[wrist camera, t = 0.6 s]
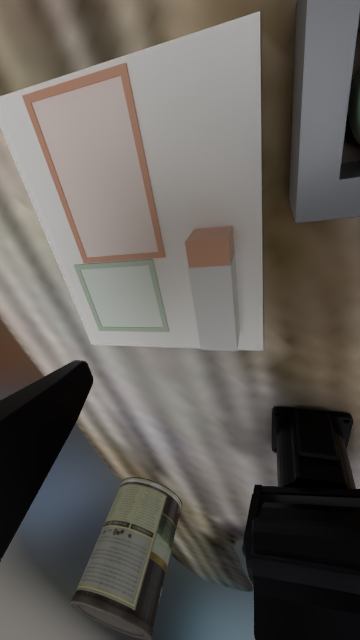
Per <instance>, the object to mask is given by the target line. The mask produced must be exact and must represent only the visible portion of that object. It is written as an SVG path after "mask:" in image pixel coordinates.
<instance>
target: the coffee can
mask: <svg viewBox="0 0 360 640" xmlns="http://www.w3.org/2000/svg"><path fill="white" fill-rule="evenodd" d="M181 508H182V503H181V501H180V499H179V498H178V496H177V495H176V494H175V493H173V492H172V491H171V490H170V489H168V488H166V487H165V486H163V485H161V484H158V483H156V482H153V481H150V480H147V479H143V478H128V479H125V480H123V482H122V483H121V485H120V488H119V491H118V493H117V496H116V498H115V501H114V503H113V505H112V508H111V510H110V512H109V515H108V517H107V520H106V522H105V524H104V527H103V529H102V532H101V534H100V536H99V539H98V541H97V543H96V546H95V548H94V550H93V553H92V555H91V558H90V560H89V563H88V565H87V567H86V570H85V572H84V575H83V577H82V579H81V581H80V584H79V586H78V589H77V591H76V593H75V595H74V596H73V597H72V600H71V602H70V603H71V605H72V607H73V608H75V609H76V610H77V611H79V612H80V613H82V614H83V615H85V616H87V617H89V618H91V619H92V620H95V621H96V622H98V623H100V624H103V625H105V626H107V627H109V628H112V629H114V630H116V631H118V632H121V633H124V634H127V635H129V636H132V637H136V638H139V639H143V640H150V639H151V638H152V634H153V626H154V622H155V616H156V613H157V608H158V604H159V599H160V595H161V591H162V587H163V583H164V578H165V574H166V569H167V565H168V561H169V556H170V552H171V548H172V544H173V539H174V535H175V531H176V527H177V522H178V518H179V514H180V510H181Z"/></svg>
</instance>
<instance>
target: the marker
mask: <svg viewBox="0 0 360 640" xmlns="http://www.w3.org/2000/svg"><path fill="white" fill-rule="evenodd" d="M185 247H186V253H187V260H188V266H189V267H188V272H189V279H190V285H191V291H192V297H193V303H194V310H195V316H196V322H197V328H198V334H199V341H200V347H201V350H215V351H237V349H238V342H239V335H240V319H239V303H238V287H237V271H236V255H235V250H234V237H233V226H224V227H214V228H204V229H194V230H193V232H192V233H191V234H190V235H189V237H188V238H187V239H186V241H185Z"/></svg>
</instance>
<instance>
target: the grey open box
mask: <svg viewBox="0 0 360 640" xmlns="http://www.w3.org/2000/svg"><path fill="white" fill-rule="evenodd" d="M357 32H360V0H297V3H296V28H295V54H294V80H293V106H292V132H291V158H290V184H289V202H290V206H291V209H292V213H293V216H294V219H295V223H301V222H311V221H322V220H332V219H342V218H352V217H360V161H355V162H349V163H342V164H341V159H342V151H343V143H344V135H345V127H346V119H347V111H348V103H349V95H350V87H351V79H352V70H353V62H354V54H355V46H356V38H357Z"/></svg>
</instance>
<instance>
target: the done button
mask: <svg viewBox="0 0 360 640" xmlns="http://www.w3.org/2000/svg"><path fill="white" fill-rule="evenodd" d="M348 117H349V124H350V128H351V131H352V133H353V135H354V137H355V139H356V140H357V142H358V143H359V144H360V68H359V70H358V72H357V74H356V77H355V79H354V82H353V85H352V88H351V92H350V97H349V104H348Z"/></svg>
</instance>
